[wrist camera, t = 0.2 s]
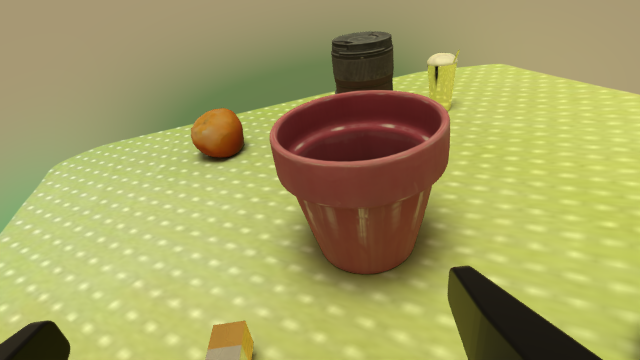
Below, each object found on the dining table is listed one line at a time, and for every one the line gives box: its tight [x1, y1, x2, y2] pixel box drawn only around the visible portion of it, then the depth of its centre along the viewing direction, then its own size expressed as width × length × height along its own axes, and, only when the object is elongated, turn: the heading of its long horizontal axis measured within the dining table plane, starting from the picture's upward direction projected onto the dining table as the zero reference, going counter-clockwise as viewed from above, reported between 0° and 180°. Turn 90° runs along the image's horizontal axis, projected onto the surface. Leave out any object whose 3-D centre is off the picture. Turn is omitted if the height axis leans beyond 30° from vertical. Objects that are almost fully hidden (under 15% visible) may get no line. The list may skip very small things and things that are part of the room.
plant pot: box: [270, 90, 450, 274], centre depth 31 cm, size 14×14×13 cm
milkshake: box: [427, 50, 460, 111], centre depth 57 cm, size 4×5×10 cm
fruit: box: [191, 108, 245, 157], centre depth 56 cm, size 8×8×8 cm
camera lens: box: [331, 32, 394, 94], centre depth 49 cm, size 8×8×15 cm
